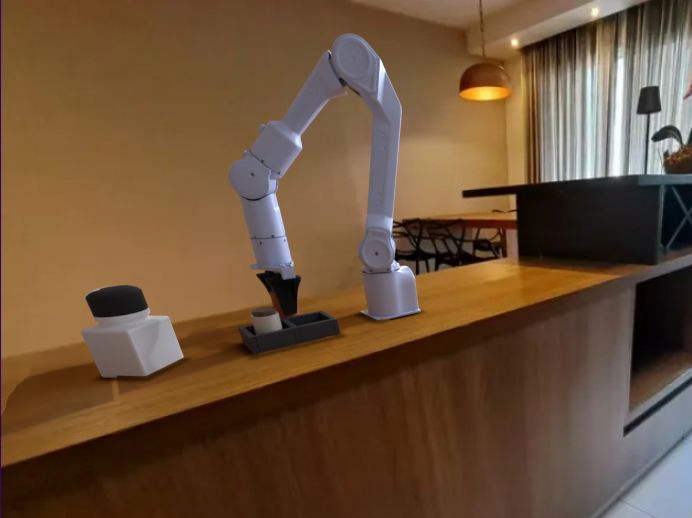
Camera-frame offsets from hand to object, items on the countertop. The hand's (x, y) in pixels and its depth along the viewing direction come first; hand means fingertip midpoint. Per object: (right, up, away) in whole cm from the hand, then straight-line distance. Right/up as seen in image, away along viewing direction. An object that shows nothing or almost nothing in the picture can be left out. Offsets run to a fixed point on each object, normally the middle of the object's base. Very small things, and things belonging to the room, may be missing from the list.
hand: (287, 311), depth 83 cm
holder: (+6, -6, -9) cm, 13 cm away
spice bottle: (0, -2, +1) cm, 2 cm away
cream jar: (+3, -7, -11) cm, 14 cm away
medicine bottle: (-11, -12, -19) cm, 25 cm away
